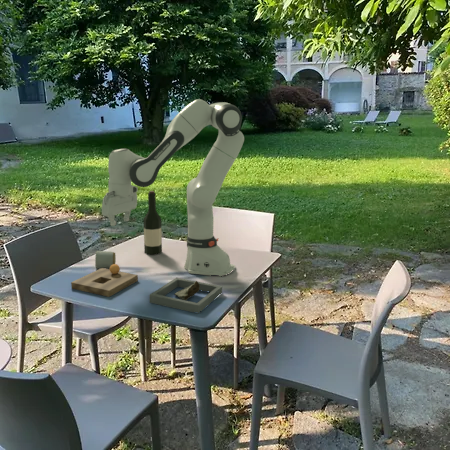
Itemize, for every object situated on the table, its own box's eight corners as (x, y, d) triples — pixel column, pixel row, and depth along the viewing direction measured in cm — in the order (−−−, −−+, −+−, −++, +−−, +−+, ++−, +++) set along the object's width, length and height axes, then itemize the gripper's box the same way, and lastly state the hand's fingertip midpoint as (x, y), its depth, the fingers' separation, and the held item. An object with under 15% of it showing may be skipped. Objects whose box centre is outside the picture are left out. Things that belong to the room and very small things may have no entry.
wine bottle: (145, 249, 220) (143, 189, 213) (162, 249, 221) (160, 189, 213) (144, 255, 212) (142, 193, 204) (161, 254, 213) (160, 192, 205)
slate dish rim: (222, 293, 169) (222, 286, 169) (198, 313, 153) (198, 305, 152) (176, 284, 177) (176, 277, 176) (149, 302, 160) (149, 294, 160)
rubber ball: (121, 272, 182) (121, 263, 181) (115, 276, 178) (115, 266, 177) (114, 271, 183) (113, 262, 182) (107, 274, 180) (107, 265, 179)
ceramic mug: (115, 270, 192) (114, 253, 190) (95, 271, 190) (94, 254, 188) (116, 262, 202) (115, 246, 200) (97, 263, 200) (97, 246, 199)
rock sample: (179, 280, 172) (189, 271, 165) (194, 292, 173) (205, 284, 166) (165, 299, 165) (175, 290, 158) (181, 312, 166) (192, 304, 159)
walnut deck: (137, 280, 181) (137, 274, 180) (109, 296, 165) (108, 290, 164) (102, 273, 188) (102, 267, 187) (71, 288, 172) (71, 282, 171)
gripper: (111, 194, 168) (111, 229, 171) (139, 187, 187) (139, 219, 190) (97, 192, 170) (97, 227, 173) (126, 185, 189) (126, 217, 192)
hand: (119, 223), depth 182 cm, fingers open, 8 cm apart
